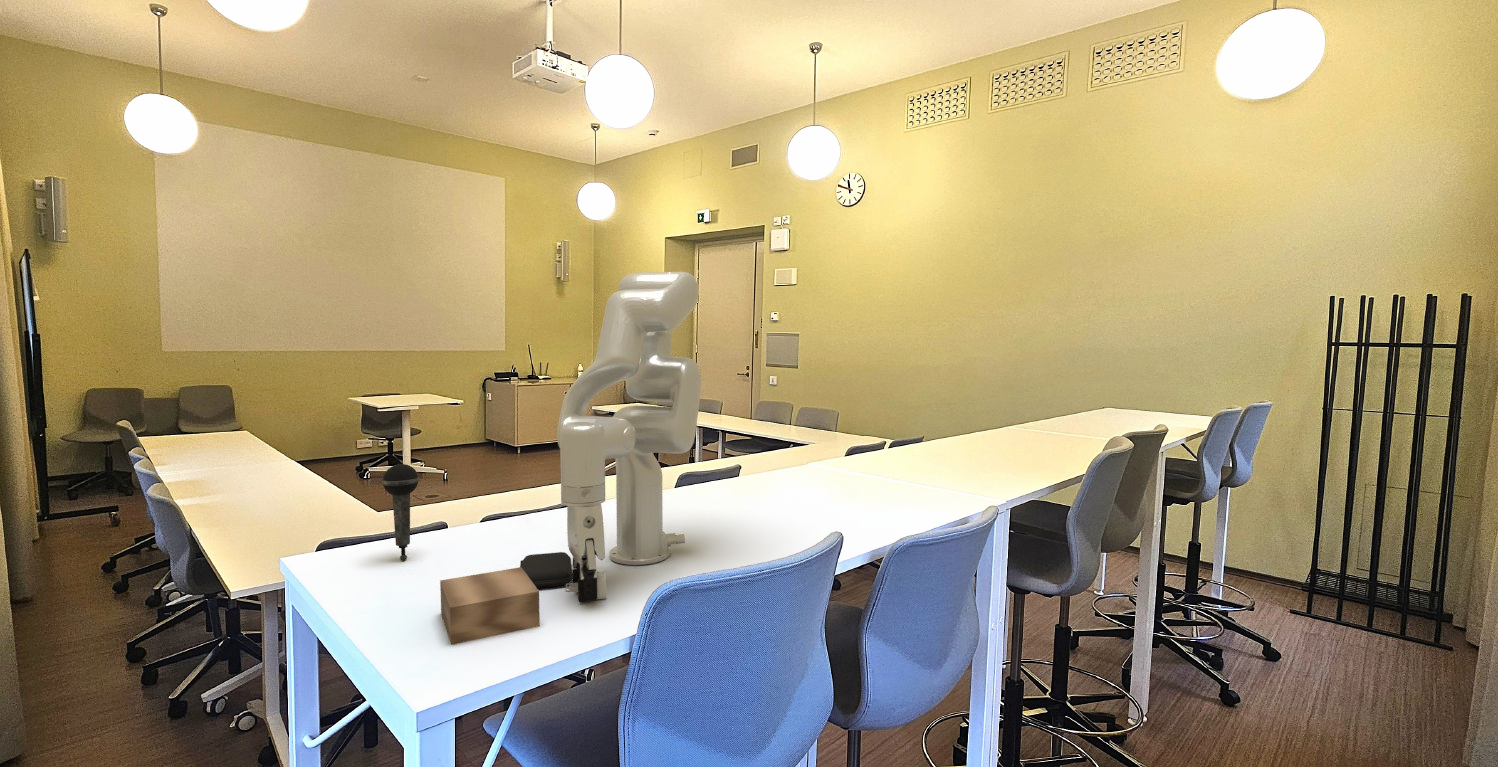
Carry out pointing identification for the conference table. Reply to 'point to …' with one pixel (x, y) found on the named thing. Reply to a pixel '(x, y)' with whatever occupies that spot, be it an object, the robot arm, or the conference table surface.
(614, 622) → the conference table surface
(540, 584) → the carrying case or bag
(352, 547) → the conference table surface
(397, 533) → the microphone
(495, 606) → the walnut block
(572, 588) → the usb wall charger
